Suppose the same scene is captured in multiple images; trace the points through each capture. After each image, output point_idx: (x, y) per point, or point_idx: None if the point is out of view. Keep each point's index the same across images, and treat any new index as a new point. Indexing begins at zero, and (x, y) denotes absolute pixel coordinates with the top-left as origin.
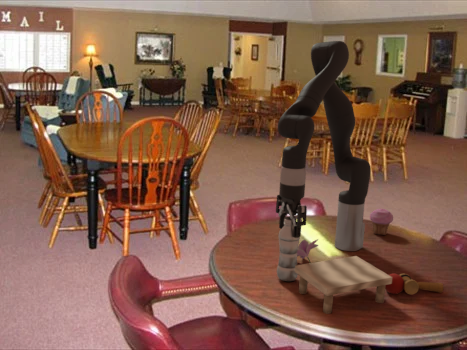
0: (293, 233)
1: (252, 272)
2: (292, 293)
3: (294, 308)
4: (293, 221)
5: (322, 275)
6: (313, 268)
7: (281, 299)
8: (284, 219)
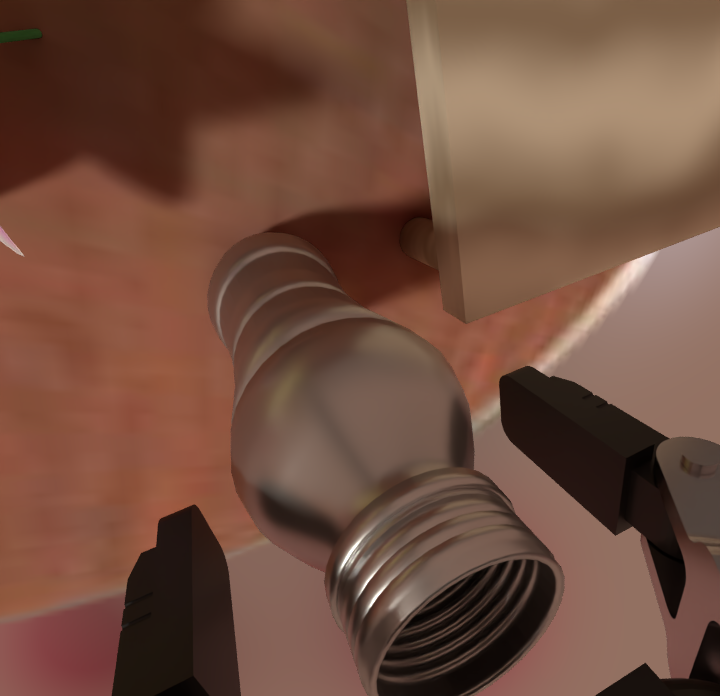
0: (540, 458)
1: (167, 448)
2: (418, 289)
3: (527, 307)
4: (673, 594)
5: (626, 189)
6: (532, 214)
7: (456, 343)
8: (451, 691)
